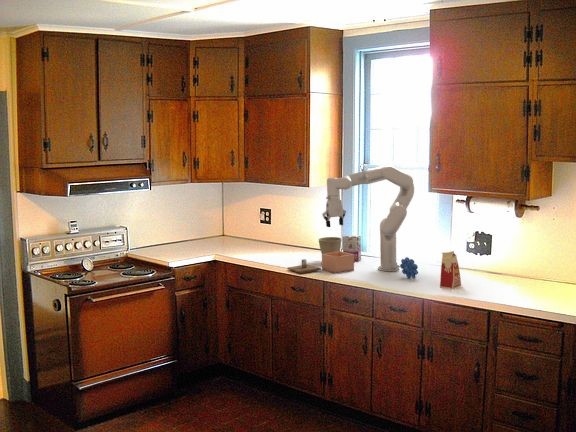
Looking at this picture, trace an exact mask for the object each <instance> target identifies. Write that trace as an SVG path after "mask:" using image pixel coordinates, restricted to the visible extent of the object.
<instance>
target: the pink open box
mask: <svg viewBox="0 0 576 432" xmlns="http://www.w3.org/2000/svg"><path fill="white" fill-rule="evenodd" d="M321 270H322V271H325V272H327V273H328V272H329V273H331V274H335V275H337V274H343V273H346V272H347V273H348V272H353V271H355V261H354V254H350V253H346V252H343V251H341V250H340V251H338V252H331V253H325V254H322V253H321Z"/></svg>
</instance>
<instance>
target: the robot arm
mask: <svg viewBox="0 0 576 432" xmlns="http://www.w3.org/2000/svg"><path fill="white" fill-rule="evenodd" d="M385 180H387V181H389V182H390V183H392V184H394V185H396V186H397V187H399V192H398V194H397V196H396V197H395V199H394V201H393V203H392V205H391V206H390V208H389V213H388V215H387V216H386V217H385V218H383V219H382V220H381V221H380V223H379V235H380V236H379V237H380V239H379V240H380V244H379V245H380V246H379V247H380V248H379V249H380V253H379V254H380V266H378V268H377V269H378V270H379V271H380V272H381V271H383V272H396V271H397V272H398V270H400V268H401V267H400V265H399V264H398V262H397V232H398V230H399V229H400V228H401V226H402V224H403V222H404V220H405V219H406V217H407V214H408V211H407V209H408V206H409V205H410V203H411V201H412V199H413V197H414V196H415V195H414V194H415V184H414V179H413V177H412V176H411V175H409V174H408V173H406V172H404V171H401V170H400V169H398V168H396V167H394V166H393V165H390V164H386V165H381V166H378V167H377V166H376V167H374V168H370V169H366V170H363V171H358V172H355V173H352V174H347V175H344V176H342V177H339V178H338V177H328V178H327V179H326V194H327V195H326V197H325V199H326V204H325V211H324V212H322V213H321V215H322V217H323V220H325V226H326V228H331V220H330V219H331V218H337V217H338V225H339V226H344V218H345V216H346V213H347V210H345V209H344V207H343V203H342V202H343V201H342V199H341V194H340V190H346V191H348V190H349V189H351V188H352V187H356V186H359V185H371V184H375V183H378V182H383V181H385Z"/></svg>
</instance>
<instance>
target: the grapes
mask: <svg viewBox="0 0 576 432" xmlns="http://www.w3.org/2000/svg"><path fill="white" fill-rule="evenodd" d="M400 262H401V263H400V265H399V266H400V267H399V268H400V269H401V273H402V274H403V275H406V278H407V279H415V278H416V276H417V275H419V271H418V268H419V267H418V264H417V263H415V260H414V259H412V258H409V257H408V256H406V257H405V258H402V259H401V260H400Z"/></svg>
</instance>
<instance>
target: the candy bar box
mask: <svg viewBox="0 0 576 432" xmlns="http://www.w3.org/2000/svg"><path fill="white" fill-rule="evenodd" d="M361 237H362V236H361V235H350V234H349V235H346V234H345V235H343V236H342V252H346V253H350V254H354V262H360V261H362V244H361V243H362V241H361V239H362V238H361Z"/></svg>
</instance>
